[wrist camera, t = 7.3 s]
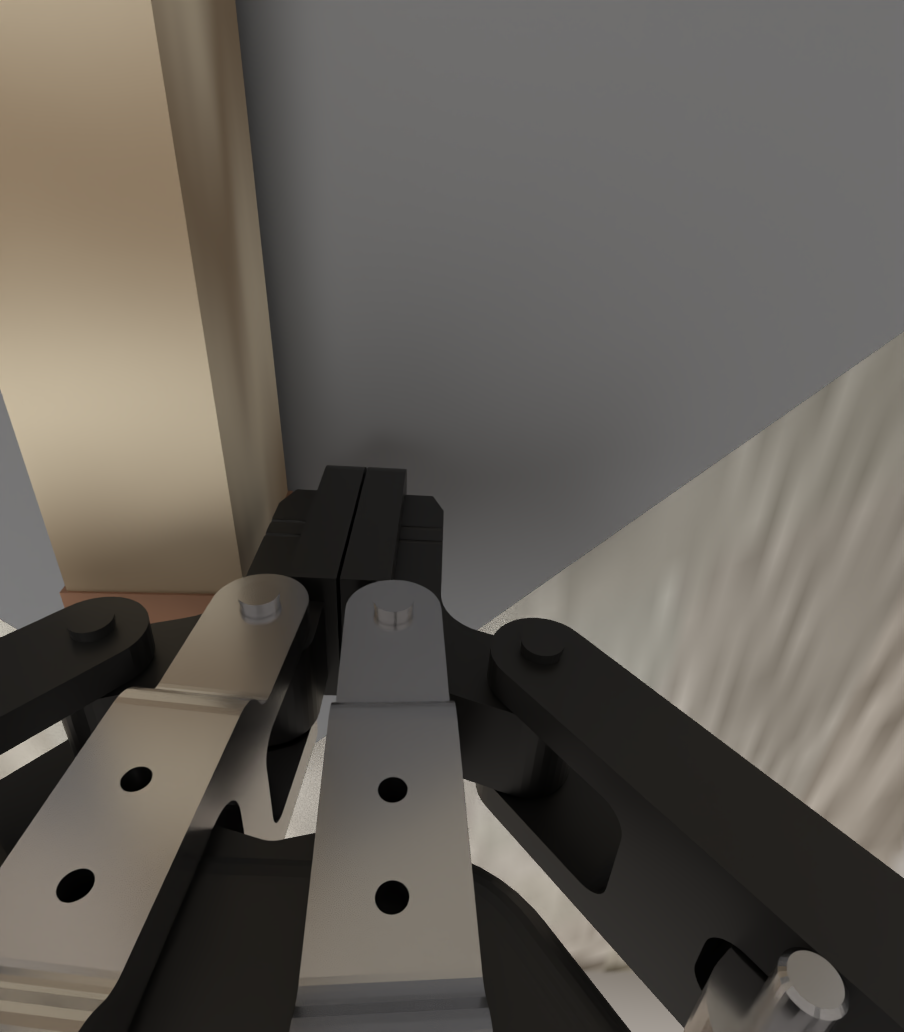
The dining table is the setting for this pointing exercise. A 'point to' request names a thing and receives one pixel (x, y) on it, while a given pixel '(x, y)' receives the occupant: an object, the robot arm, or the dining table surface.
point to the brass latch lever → (136, 297)
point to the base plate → (551, 255)
